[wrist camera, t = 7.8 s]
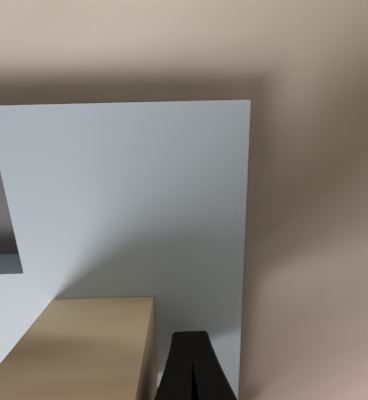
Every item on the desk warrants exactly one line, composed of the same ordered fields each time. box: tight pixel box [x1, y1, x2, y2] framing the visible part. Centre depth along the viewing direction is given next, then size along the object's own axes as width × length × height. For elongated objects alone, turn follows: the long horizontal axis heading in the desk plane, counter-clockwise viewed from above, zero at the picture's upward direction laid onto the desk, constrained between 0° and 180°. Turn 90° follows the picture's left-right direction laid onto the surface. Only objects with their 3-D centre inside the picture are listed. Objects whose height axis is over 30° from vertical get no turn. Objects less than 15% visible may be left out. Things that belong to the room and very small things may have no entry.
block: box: [0, 297, 158, 400], centre depth 8 cm, size 4×4×4 cm
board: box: [0, 100, 251, 400], centre depth 10 cm, size 18×16×4 cm
